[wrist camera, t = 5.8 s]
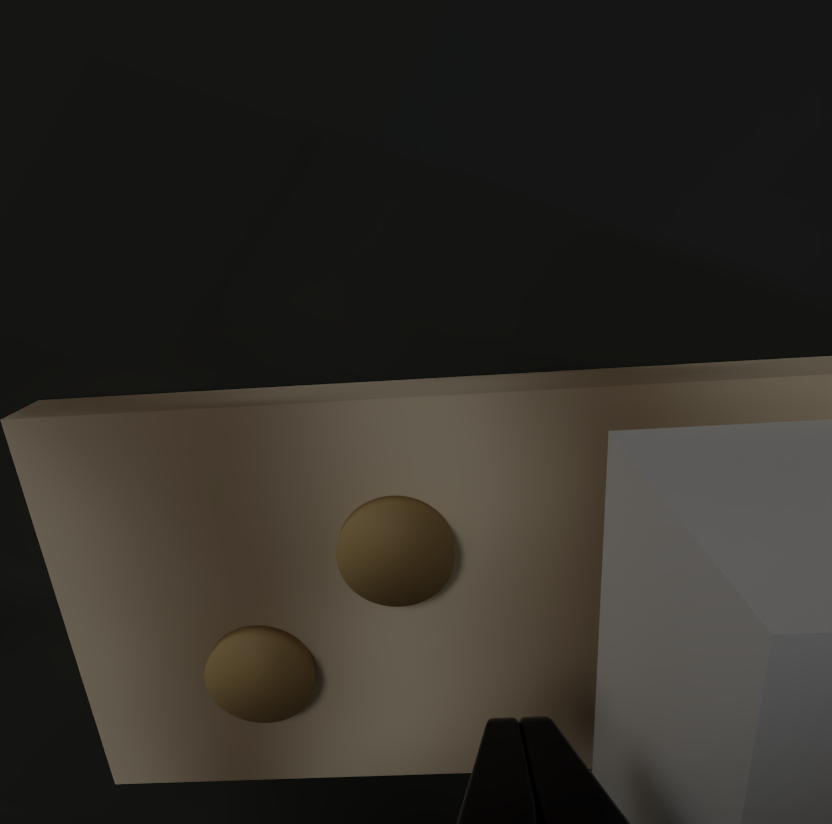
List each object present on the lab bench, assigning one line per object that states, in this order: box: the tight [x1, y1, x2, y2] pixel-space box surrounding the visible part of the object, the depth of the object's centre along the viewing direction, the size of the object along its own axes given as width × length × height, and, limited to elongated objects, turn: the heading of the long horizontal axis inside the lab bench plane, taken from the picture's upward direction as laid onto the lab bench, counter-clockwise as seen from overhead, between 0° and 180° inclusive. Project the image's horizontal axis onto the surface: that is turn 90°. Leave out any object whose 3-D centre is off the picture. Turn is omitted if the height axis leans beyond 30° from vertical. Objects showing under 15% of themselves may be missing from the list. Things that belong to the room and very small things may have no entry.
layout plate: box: [1, 356, 832, 784], centre depth 11 cm, size 18×8×1 cm, turn 94°
